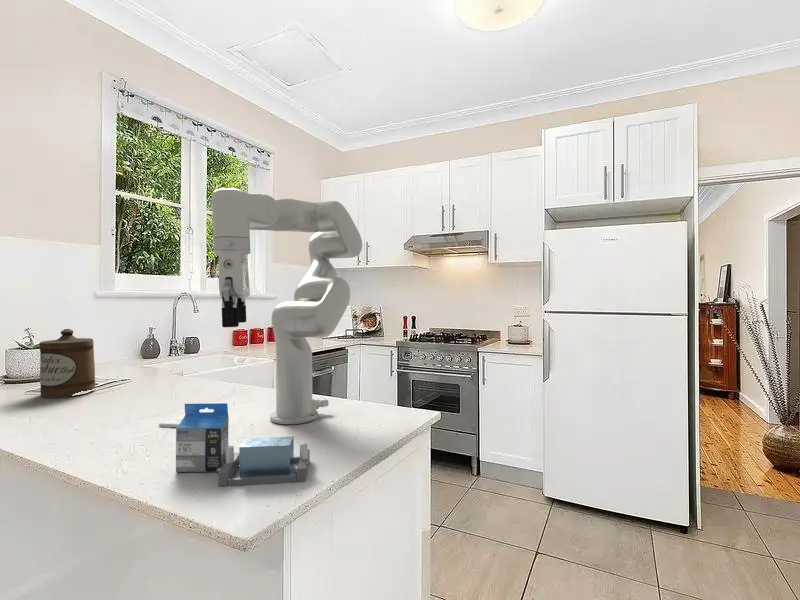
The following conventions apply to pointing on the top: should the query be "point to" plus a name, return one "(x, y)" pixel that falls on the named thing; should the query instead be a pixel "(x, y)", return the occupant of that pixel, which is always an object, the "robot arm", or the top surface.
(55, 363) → the wooden container
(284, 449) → the light blue block
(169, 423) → the external hard drive
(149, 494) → the top surface
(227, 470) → the dock
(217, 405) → the label tape box
